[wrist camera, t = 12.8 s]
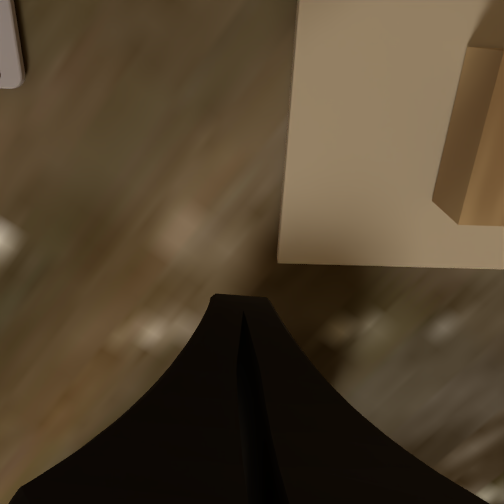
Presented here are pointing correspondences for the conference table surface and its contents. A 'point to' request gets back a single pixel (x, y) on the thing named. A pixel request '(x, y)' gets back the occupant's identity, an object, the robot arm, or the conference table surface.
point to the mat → (379, 133)
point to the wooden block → (475, 144)
